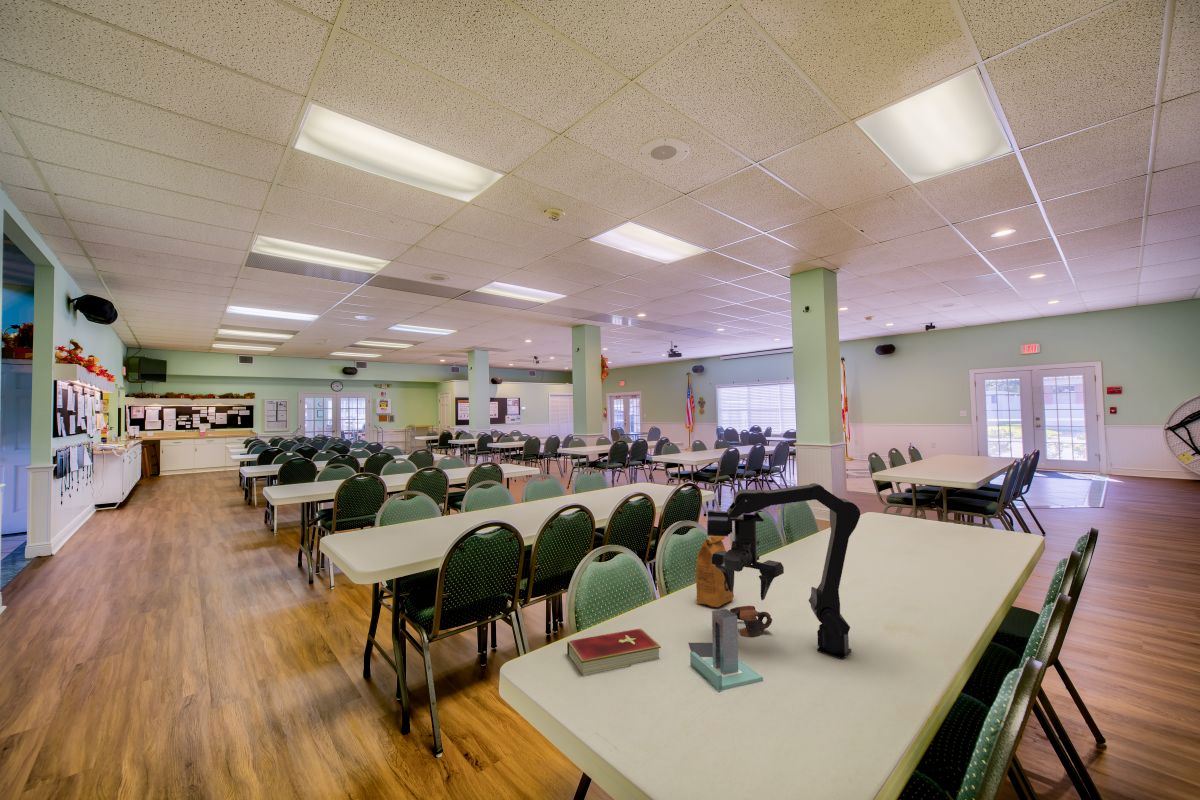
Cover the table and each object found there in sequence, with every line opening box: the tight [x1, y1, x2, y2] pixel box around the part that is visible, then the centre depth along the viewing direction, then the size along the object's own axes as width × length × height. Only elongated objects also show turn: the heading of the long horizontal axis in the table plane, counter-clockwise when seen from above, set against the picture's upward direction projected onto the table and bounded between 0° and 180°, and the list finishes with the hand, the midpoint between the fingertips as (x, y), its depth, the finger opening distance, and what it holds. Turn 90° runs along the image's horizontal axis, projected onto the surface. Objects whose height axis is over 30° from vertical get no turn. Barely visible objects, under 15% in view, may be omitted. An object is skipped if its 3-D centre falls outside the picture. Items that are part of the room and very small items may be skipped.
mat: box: [687, 642, 713, 658], centre depth 128 cm, size 8×8×1 cm
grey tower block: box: [711, 608, 739, 675], centre depth 117 cm, size 4×4×13 cm
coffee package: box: [695, 536, 735, 608], centre depth 163 cm, size 10×12×22 cm
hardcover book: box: [566, 627, 662, 676], centre depth 125 cm, size 12×21×4 cm, turn 111°
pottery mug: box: [729, 605, 773, 638], centre depth 140 cm, size 12×9×8 cm
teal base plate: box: [689, 652, 764, 693], centre depth 116 cm, size 12×12×4 cm
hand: (746, 595), depth 132 cm, fingers open, 9 cm apart
